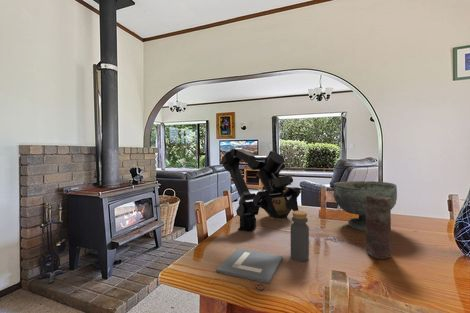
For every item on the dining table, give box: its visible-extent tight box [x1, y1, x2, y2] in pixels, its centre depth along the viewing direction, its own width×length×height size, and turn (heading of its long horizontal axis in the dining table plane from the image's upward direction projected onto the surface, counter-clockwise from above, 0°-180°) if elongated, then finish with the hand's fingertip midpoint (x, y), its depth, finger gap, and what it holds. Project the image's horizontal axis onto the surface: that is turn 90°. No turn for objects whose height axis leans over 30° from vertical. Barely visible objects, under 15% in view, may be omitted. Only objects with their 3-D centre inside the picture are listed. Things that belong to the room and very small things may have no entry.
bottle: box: [290, 210, 310, 262], centre depth 80 cm, size 6×6×15 cm
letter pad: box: [216, 248, 284, 284], centre depth 75 cm, size 16×16×1 cm
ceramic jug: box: [264, 163, 293, 221], centre depth 124 cm, size 17×15×30 cm
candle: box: [365, 195, 392, 260], centre depth 81 cm, size 8×7×20 cm
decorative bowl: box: [333, 180, 398, 232], centre depth 110 cm, size 26×26×20 cm
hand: (288, 216), depth 85 cm, fingers open, 9 cm apart
